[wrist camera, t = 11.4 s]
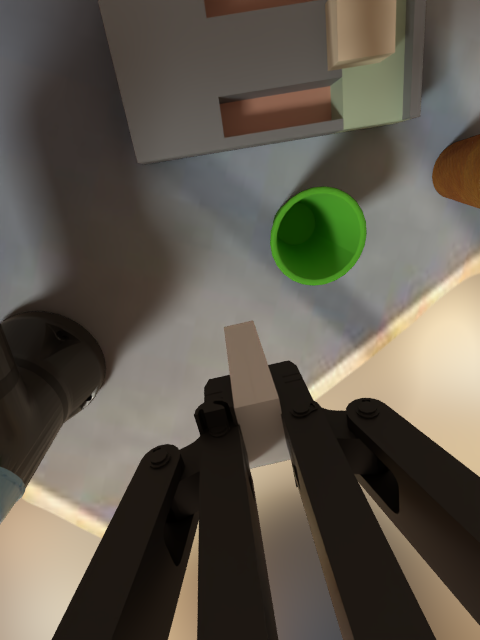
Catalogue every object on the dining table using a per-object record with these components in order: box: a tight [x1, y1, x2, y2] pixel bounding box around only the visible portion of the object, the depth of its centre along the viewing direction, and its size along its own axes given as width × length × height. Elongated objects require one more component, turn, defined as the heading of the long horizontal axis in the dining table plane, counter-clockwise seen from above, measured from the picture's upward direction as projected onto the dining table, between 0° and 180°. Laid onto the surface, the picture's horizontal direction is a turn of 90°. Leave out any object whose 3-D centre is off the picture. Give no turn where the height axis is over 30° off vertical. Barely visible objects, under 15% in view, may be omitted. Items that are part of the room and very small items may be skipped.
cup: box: [270, 186, 367, 285], centre depth 37 cm, size 9×9×11 cm
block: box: [325, 0, 396, 71], centre depth 30 cm, size 5×5×3 cm
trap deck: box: [98, 0, 426, 164], centre depth 33 cm, size 28×15×6 cm, turn 99°
